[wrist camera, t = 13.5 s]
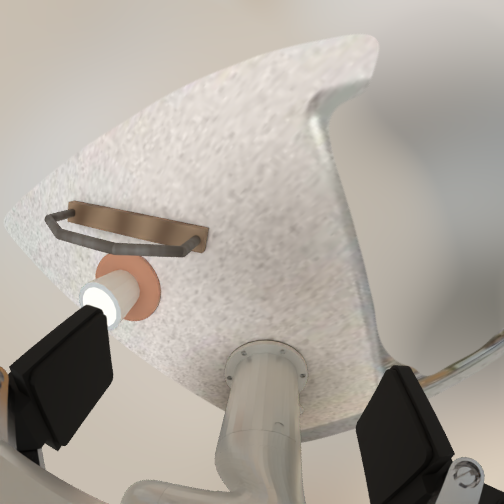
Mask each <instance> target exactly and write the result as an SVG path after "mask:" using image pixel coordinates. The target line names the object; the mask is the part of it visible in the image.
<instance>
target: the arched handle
mask: <svg viewBox="0 0 504 504" xmlns="http://www.w3.org/2000/svg"><path fill="white" fill-rule="evenodd" d="M67 218H68V222H71V223H75V224H79V225H84V226H88V227H92V228H96V229H100V230H104V231H108V232H113V233H117V234H121V235H125V236H129V237H134V238H138V239H142V240H146V241H151V242H155V243H159V244H164V245H151V244H128V243H114V242H110V241H106V240H102V239H98V238H94V237H90V236H87V235H83V234H79V233H75V232H71V231H68V230H64V229H62V228H61V227H60V226H59V225H58V223H57V221H60V220H64V219H67ZM45 222H46V224H47V225H48V227H49V228H50V230H51V231H52V233H53V234H54V235H55V237H56V238H57V239H60V240H63V241H66V242H70V243H73V244H77V245H80V246H84V247H87V248H91V249H94V250H98V251H101V252H105V253H109V254H112V255H129V256H159V257H185V256H186V255H187V254H188V253H189V252H191V251H194V252H199V253H203V252H204V251H205V247H206V240H207V234H208V228H207V227H202V226H197V225H193V224H188V223H183V222H178V221H173V220H169V219H164V218H159V217H154V216H149V215H144V214H139V213H134V212H129V211H124V210H119V209H114V208H109V207H104V206H99V205H94V204H88V203H83V202H78V201H71V202H69V205H68V210H65V211H61V212H57V213H53V214H49V215H47V216H46V217H45Z"/></svg>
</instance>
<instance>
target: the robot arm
mask: <svg viewBox="0 0 504 504" xmlns="http://www.w3.org/2000/svg"><path fill="white" fill-rule="evenodd" d="M9 367H10V370H11V372H10V373H9V374H7V372H6V371H5V370H4V369H3V368H2V367H0V504H108V503H105V502H103V501H101V500H99V499H97V498H95V497H93V496H91V495H89V494H87V493H85V492H83V491H81V490H79V489H77V488H75V487H73V486H72V485H70V484H68V483H66V482H65V481H63V480H61V479H59V478H58V477H56V476H54V475H53V474H51V473H49V472H48V471H46V470H45V464H44V459H43V453H42V446H43V445H44V444H45V443H46V444H47V445H48V446H50V447H52V448H53V449H55V450H57V451H58V450H59V449H60V447H61V446H66V445H67V444H68V443H69V441H70V440H71V438H72V437H73V435H74V434H75V433H76V431H77V430H78V428H79V427H80V426H81V424H82V422H83V421H84V420H85V418H86V417H87V416H88V414H89V413H90V411H91V410H92V409H93V407H94V406H95V405H96V403H97V402H98V400H99V399H100V398H101V396H102V395H103V394H104V392H105V391H106V389H107V388H108V387H109V385H110V384H111V382H112V380H113V369H112V363H111V354H110V346H109V337H108V325H107V317H106V315H104V313H103V311H102V309H100V308H97V307H94V306H91V305H85V306H83V307H82V308H81V309H79V310H78V311H77V312H75V313H74V314H73V315H72V316H70V317H69V318H68V319H66V320H65V321H64V322H63V323H61V324H60V325H59V326H58V327H56V328H55V329H54V330H53V331H51V332H50V333H49V334H48V335H46V336H45V337H44V338H43V339H41V340H40V341H39V342H38V343H37V344H35V345H34V346H33V347H32V348H31V349H29V350H28V351H27V352H26V353H25V354H24V355H22V356H21V357H20V358H19V359H18V360H16V361H15V362H14V363H13V364H12V365H11V366H9ZM224 375H225V380H226V383H227V385H228V386H229V388H230V389H231V390H230V394H229V398H228V403H227V407H226V411H225V415H224V419H223V424H222V428H221V432H220V436H219V440H218V445H217V448H216V453H215V465H216V469H217V472H218V474H219V476H220V478H221V479H222V481H223V482H224V484H225V485H226V486H227V488H228V489H229V490H230V492H222V491H210V490H204V489H198V488H192V487H187V486H182V485H177V484H172V483H168V482H162V481H157V480H142V481H139V482H136V483H134V484H133V485H131V486H130V487H129V488H128V489H127V491H126V492H125V494H124V496H123V498H122V501H121V504H306V502H305V496H304V491H303V481H302V463H301V433H300V415H301V414H302V413H303V412H304V409H303V407H302V406H301V405H300V404H299V393H300V392H301V391H302V390H303V389H304V387H305V385H306V383H307V378H308V370H307V365H306V363H305V360H304V358H303V357H302V356H301V355H300V353H298V352H297V351H296V350H295V349H293V348H292V347H290V346H288V345H286V344H283V343H280V342H275V341H255V342H251V343H248V344H245V345H243V346H241V347H239V348H238V349H237V350H235V351H234V352H233V353H232V354H231V355H230V357H229V359H228V360H227V363H226V366H225V372H224ZM356 434H357V438H358V442H359V447H360V452H361V457H362V462H363V467H364V472H365V476H366V482H367V487H368V492H369V498H370V504H504V492H502V491H500V490H497V489H495V488H493V487H491V486H489V485H487V484H484V476H485V475H484V471H483V469H482V467H481V465H480V464H479V463H478V462H477V461H475V460H473V459H471V458H467V457H461V458H458V459H456V460H455V461H452V459H451V458H452V457H453V455H454V454H455V453H454V451H453V449H452V447H451V445H450V442H449V441H448V438H447V436H446V434H445V432H444V430H443V428H442V426H441V424H440V422H439V420H438V418H437V416H436V414H435V412H434V410H433V408H432V407H431V405H430V402H429V401H428V399H427V397H426V395H425V393H424V391H423V389H422V388H421V386H420V384H419V382H418V380H417V378H416V377H415V375H414V373H413V371H412V370H411V368H410V367H409V366H398V365H394V366H392V367H391V368H390V369H388V370H386V372H385V373H384V375H383V377H382V379H381V381H380V383H379V385H378V387H377V389H376V391H375V392H374V394H373V396H372V398H371V400H370V401H369V403H368V405H367V407H366V408H365V410H364V412H363V414H362V415H361V417H360V419H359V420H358V422H357V425H356Z"/></svg>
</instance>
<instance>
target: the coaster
mask: <svg viewBox="0 0 504 504" xmlns="http://www.w3.org/2000/svg"><path fill="white" fill-rule="evenodd" d="M115 270H124V271H127V272H129V273H130V274H131V275H133V276H134V278H135V279H136V281H137V282H138V285H139V289H140V294H139V298H138V300H137V302H136V303H135V304H134V306H133V307H132V308H131V309H130V311H129V312H128V313H127V315H126V316H125V317H124V319H125V320H129V321H140V320H143V319H146V318H147V317H149V316H150V315H151V314H152V313H153V312H154V311H155V310H156V308H157V306H158V304H159V301H160V295H161V289H160V284H159V280H158V277H157V275H156V273H155V271H154V269H153V268H152V266H151V265H150V264H149V263H148V262H147V261H146V260H145V259H144V258H143V257H141V256H129V255H112V254H107V255H106V256H105V257H103V259H102V260H101V261H100V263H99V265H98V267H97V270H96V279H97V278H99V277H102V276H104V275H106V274H108V273H111V272H113V271H115Z"/></svg>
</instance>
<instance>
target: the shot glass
mask: <svg viewBox="0 0 504 504" xmlns="http://www.w3.org/2000/svg"><path fill="white" fill-rule="evenodd" d="M139 294H140V289H139V285H138V282H137V281H136V279H135V278H134V276H133V275H131V274H130V273H129V272H127V271H124V270H115V271H113V272H111V273H108V274H106V275H104V276H102V277H99V278H97V279H95V280H93V281H91V282H88V283H87V284H85V285H84V286H83V287H82V288H81V291H80V294H79V303H80V306H81V308H82V307H83V306H85V305H91V306H94V307H97V308H100V309H102V311H103V313H104V315H106V317H107V325H108V330H113V329H114V328H116V327H118V325H119V324H120V323H121V321H122V320H123V319H124V317H125V316H126V315H127V313H128V312H129V311H130V309H131V308H132V307H133V306H134V304H135V303H136V302H137V300H138V298H139Z"/></svg>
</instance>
